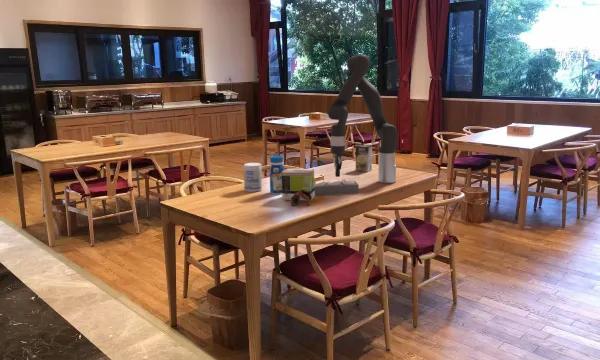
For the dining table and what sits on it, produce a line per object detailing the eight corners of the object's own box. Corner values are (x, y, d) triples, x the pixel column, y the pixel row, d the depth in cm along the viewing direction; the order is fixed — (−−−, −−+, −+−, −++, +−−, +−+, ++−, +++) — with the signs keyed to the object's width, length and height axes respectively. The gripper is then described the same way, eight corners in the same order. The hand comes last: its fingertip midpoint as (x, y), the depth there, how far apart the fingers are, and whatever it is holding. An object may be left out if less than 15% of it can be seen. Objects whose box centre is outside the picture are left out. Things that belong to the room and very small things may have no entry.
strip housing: (354, 188, 275) (354, 180, 274) (358, 193, 266) (358, 184, 265) (309, 191, 273) (309, 182, 272) (311, 195, 264) (311, 186, 263)
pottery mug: (295, 202, 254) (303, 188, 252) (308, 212, 249) (317, 199, 247) (282, 201, 243) (291, 187, 241) (296, 212, 239) (305, 198, 237)
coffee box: (354, 170, 320) (355, 146, 317) (359, 169, 326) (359, 144, 322) (368, 172, 316) (368, 147, 312) (372, 170, 321) (372, 145, 317)
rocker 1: (324, 182, 270) (323, 179, 270) (325, 184, 266) (324, 181, 265) (313, 185, 270) (312, 182, 269) (314, 187, 265) (313, 184, 265)
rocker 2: (338, 182, 271) (337, 178, 270) (340, 184, 267) (339, 180, 266) (327, 184, 270) (327, 181, 270) (329, 186, 266) (328, 183, 266)
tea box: (315, 196, 261) (314, 168, 258) (310, 201, 252) (309, 172, 249) (287, 195, 265) (286, 167, 262) (281, 200, 256) (280, 171, 253)
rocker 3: (352, 183, 272) (353, 180, 271) (354, 185, 268) (354, 182, 267) (341, 182, 271) (342, 178, 271) (343, 183, 267) (344, 180, 266)
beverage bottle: (275, 190, 276) (274, 154, 271) (288, 191, 272) (287, 155, 267) (266, 193, 269) (265, 157, 264) (280, 195, 265) (278, 158, 260)
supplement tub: (246, 193, 271) (245, 166, 268) (242, 189, 280) (241, 163, 276) (264, 191, 274) (263, 165, 271) (259, 187, 283) (258, 161, 279)
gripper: (347, 146, 258) (346, 179, 262) (342, 142, 271) (342, 173, 275) (332, 146, 257) (332, 179, 261) (328, 142, 270) (328, 174, 274)
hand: (337, 176), depth 268 cm, fingers closed
